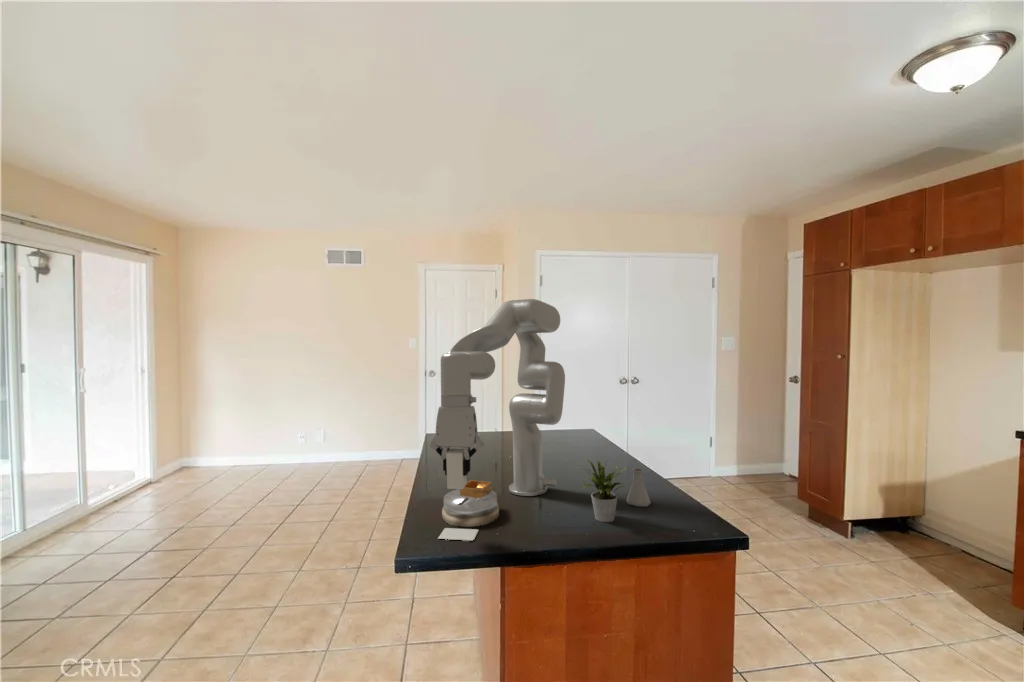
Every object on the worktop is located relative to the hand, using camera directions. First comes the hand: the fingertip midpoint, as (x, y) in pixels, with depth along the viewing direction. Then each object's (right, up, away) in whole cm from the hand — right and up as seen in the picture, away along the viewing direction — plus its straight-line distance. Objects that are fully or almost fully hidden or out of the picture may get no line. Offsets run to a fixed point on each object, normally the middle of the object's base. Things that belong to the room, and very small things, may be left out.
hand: (456, 473), depth 110 cm
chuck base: (+2, -16, +13) cm, 21 cm away
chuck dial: (+2, -13, +13) cm, 19 cm away
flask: (+52, -15, +20) cm, 58 cm away
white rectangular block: (0, -3, 0) cm, 3 cm away
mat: (0, -16, 0) cm, 16 cm away
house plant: (+38, -15, +10) cm, 42 cm away
